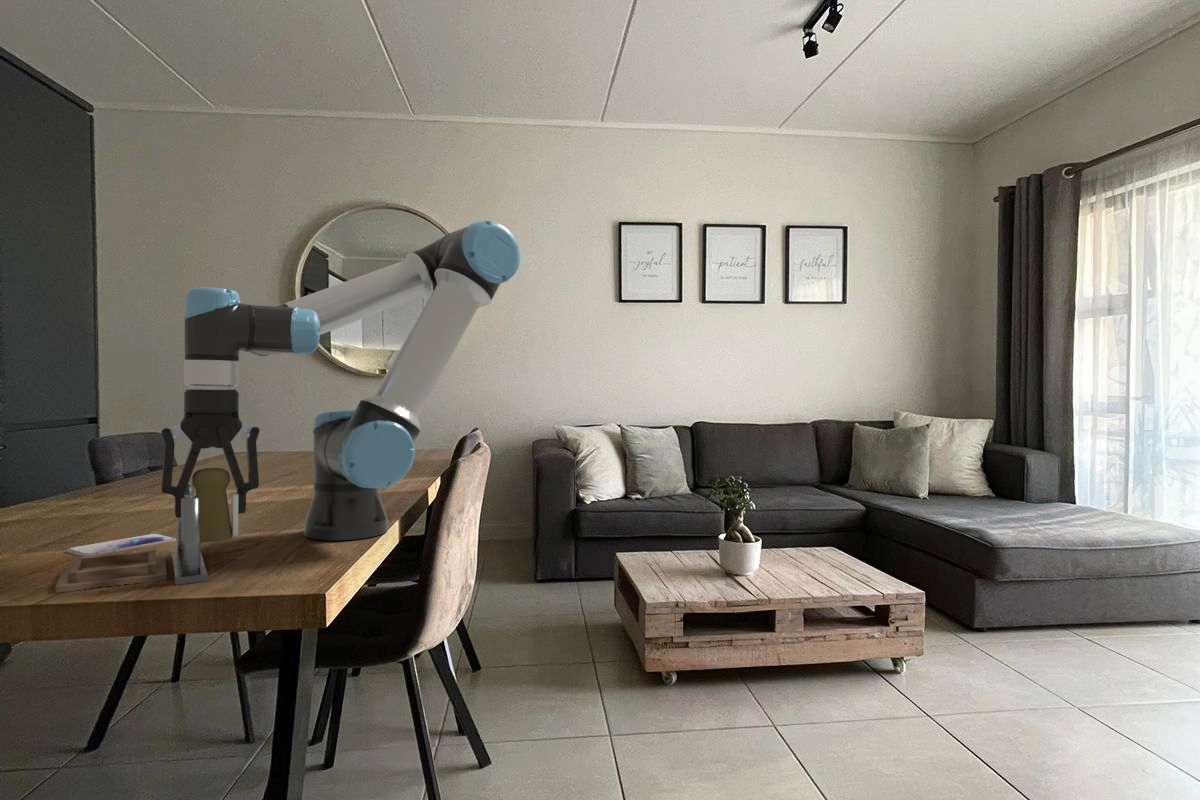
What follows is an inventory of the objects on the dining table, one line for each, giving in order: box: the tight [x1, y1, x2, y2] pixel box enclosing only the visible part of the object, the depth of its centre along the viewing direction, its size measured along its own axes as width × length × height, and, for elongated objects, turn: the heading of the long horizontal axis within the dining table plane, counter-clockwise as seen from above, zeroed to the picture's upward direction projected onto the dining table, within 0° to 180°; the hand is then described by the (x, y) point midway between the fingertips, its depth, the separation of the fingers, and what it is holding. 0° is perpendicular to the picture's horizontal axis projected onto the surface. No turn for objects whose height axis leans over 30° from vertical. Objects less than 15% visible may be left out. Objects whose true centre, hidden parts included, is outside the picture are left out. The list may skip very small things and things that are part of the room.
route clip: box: [171, 482, 209, 586], centre depth 113 cm, size 4×20×12 cm, turn 32°
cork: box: [191, 467, 233, 543], centre depth 115 cm, size 6×6×11 cm
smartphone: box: [66, 533, 177, 557], centre depth 129 cm, size 7×1×15 cm
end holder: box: [54, 549, 168, 594], centre depth 109 cm, size 13×13×2 cm
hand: (210, 535), depth 115 cm, fingers closed on cork, 6 cm apart
